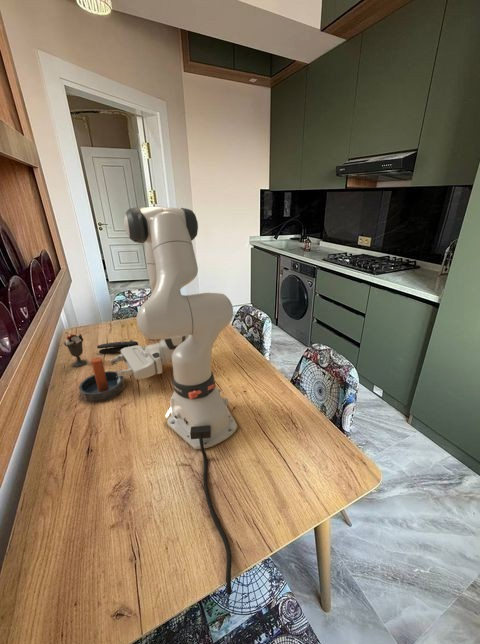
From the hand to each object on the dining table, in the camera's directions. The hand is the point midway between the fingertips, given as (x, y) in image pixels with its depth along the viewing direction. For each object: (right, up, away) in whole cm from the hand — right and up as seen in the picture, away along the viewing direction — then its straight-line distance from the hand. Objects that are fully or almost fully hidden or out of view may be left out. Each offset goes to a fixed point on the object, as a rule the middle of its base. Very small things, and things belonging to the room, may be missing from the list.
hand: (113, 368), depth 102 cm
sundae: (-22, -1, +16) cm, 28 cm away
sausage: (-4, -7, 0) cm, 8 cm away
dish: (-4, -8, 0) cm, 9 cm away
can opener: (-10, +2, +25) cm, 27 cm away
